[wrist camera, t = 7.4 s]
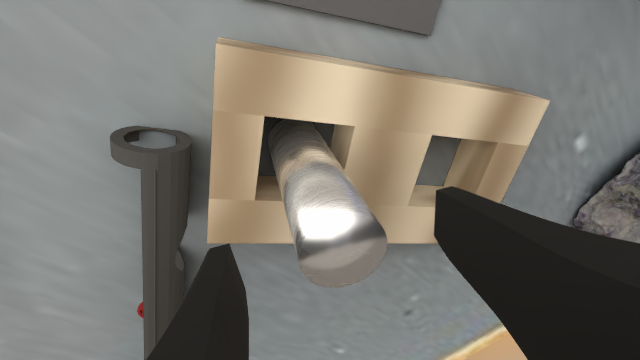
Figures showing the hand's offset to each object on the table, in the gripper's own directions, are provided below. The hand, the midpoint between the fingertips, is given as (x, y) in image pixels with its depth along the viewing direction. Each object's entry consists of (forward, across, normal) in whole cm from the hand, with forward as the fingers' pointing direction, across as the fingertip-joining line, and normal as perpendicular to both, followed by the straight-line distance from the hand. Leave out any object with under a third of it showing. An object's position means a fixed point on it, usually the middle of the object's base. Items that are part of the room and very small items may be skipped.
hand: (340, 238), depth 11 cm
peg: (+9, 0, 0) cm, 9 cm away
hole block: (+9, -4, +2) cm, 10 cm away
